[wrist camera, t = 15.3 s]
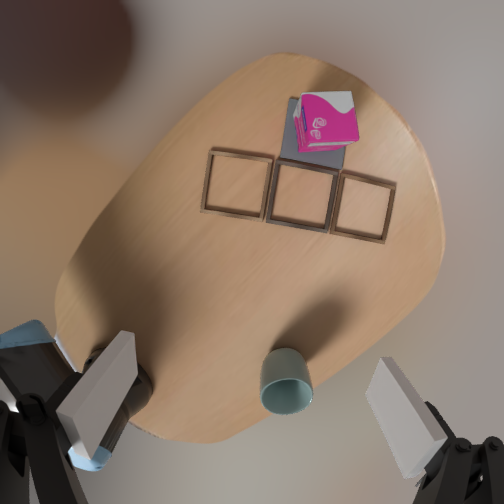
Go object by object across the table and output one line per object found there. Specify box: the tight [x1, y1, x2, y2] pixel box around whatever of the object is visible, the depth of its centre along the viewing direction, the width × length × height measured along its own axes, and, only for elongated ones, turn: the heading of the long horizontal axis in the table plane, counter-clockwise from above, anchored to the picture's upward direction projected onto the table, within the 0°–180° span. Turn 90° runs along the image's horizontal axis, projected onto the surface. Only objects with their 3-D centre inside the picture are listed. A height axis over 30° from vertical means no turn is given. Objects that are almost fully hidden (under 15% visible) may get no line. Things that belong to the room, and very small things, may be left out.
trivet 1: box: [200, 150, 273, 222], centre depth 39 cm, size 9×9×1 cm
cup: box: [260, 348, 313, 415], centre depth 41 cm, size 8×8×10 cm
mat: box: [280, 98, 345, 170], centre depth 37 cm, size 9×9×1 cm
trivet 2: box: [330, 173, 396, 244], centre depth 39 cm, size 9×9×1 cm
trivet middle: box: [266, 160, 338, 233], centre depth 39 cm, size 9×9×1 cm
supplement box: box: [293, 91, 359, 153], centre depth 31 cm, size 6×6×12 cm
